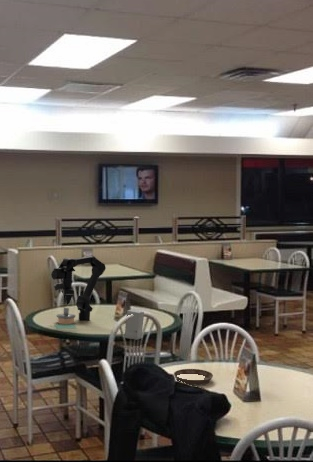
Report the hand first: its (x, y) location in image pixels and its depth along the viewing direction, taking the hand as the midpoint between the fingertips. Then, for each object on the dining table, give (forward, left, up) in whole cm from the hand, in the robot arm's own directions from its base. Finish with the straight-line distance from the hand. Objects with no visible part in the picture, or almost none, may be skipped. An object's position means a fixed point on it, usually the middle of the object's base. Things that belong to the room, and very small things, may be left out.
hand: (66, 303), depth 390 cm
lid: (0, 0, -8) cm, 8 cm away
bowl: (0, 0, -12) cm, 12 cm away
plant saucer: (-40, +125, -13) cm, 132 cm away
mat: (+2, +12, -12) cm, 17 cm away
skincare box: (-33, +43, -13) cm, 56 cm away
